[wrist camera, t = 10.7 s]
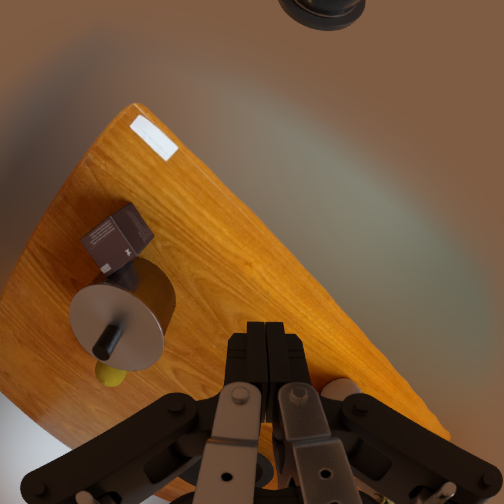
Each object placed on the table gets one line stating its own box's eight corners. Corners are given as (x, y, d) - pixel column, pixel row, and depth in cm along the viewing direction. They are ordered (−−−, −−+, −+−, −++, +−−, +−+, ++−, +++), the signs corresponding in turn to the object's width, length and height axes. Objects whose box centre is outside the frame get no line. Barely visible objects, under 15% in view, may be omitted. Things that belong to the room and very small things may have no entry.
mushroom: (362, 451, 63) (378, 507, 46) (394, 453, 65) (410, 503, 48) (335, 471, 67) (345, 523, 50) (367, 473, 69) (379, 520, 52)
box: (132, 200, 39) (110, 214, 33) (156, 236, 41) (139, 256, 35) (102, 222, 41) (78, 239, 34) (125, 256, 42) (105, 278, 36)
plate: (153, 425, 57) (148, 444, 52) (259, 417, 55) (259, 438, 50) (197, 477, 67) (195, 493, 62) (280, 472, 65) (282, 488, 60)
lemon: (109, 337, 48) (92, 366, 41) (136, 352, 49) (122, 383, 42) (102, 355, 50) (86, 384, 42) (127, 369, 51) (114, 399, 43)
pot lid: (62, 277, 34) (40, 298, 29) (158, 283, 34) (144, 309, 29) (86, 359, 39) (72, 383, 34) (171, 370, 39) (163, 399, 34)
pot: (94, 255, 42) (64, 283, 34) (172, 257, 43) (153, 289, 34) (108, 324, 47) (86, 359, 38) (179, 331, 47) (166, 370, 38)
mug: (306, 393, 53) (313, 433, 43) (342, 366, 50) (356, 406, 41) (344, 414, 56) (354, 451, 47) (378, 391, 53) (393, 427, 44)
